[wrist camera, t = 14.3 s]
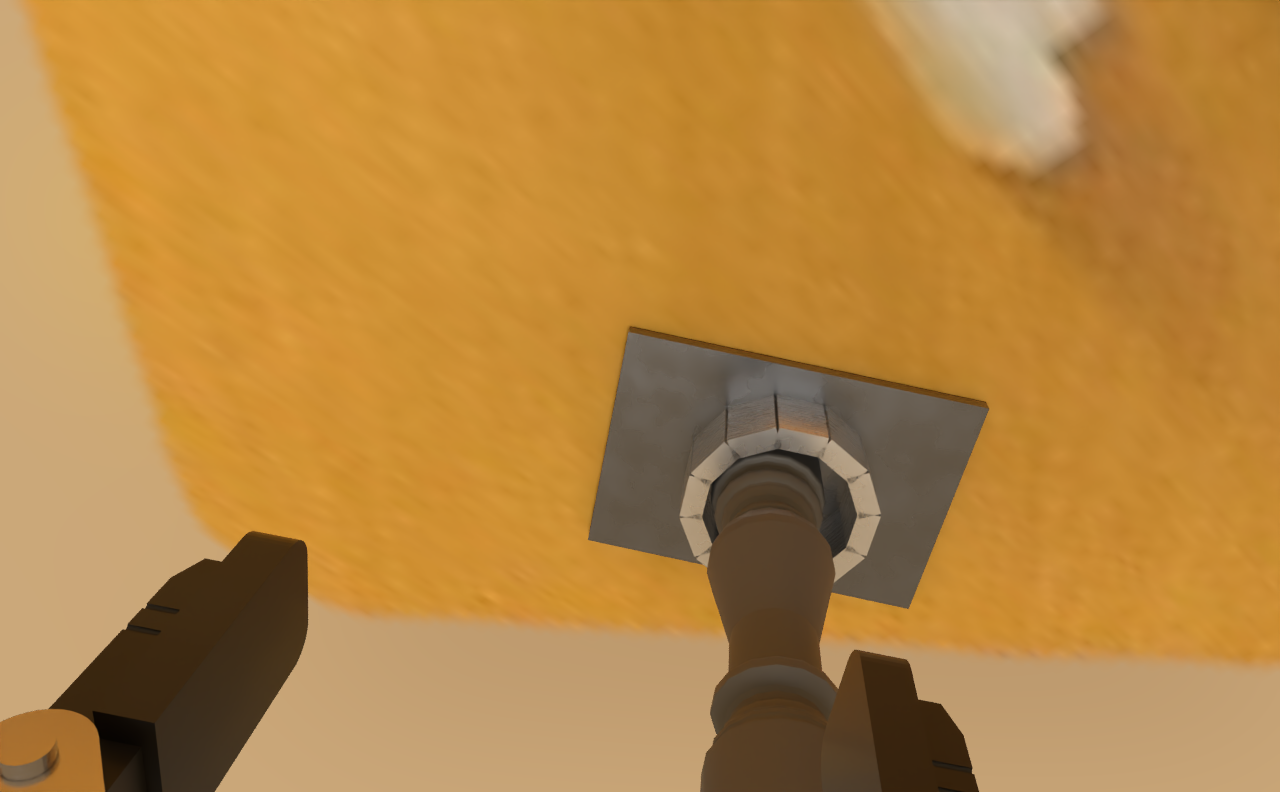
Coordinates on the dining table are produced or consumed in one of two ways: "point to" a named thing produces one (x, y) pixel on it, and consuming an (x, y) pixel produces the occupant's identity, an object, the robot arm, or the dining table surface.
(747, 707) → the candle holder
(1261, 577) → the dining table surface
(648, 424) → the steel collar
